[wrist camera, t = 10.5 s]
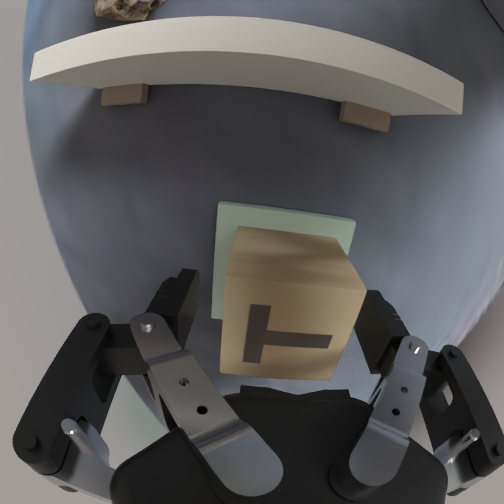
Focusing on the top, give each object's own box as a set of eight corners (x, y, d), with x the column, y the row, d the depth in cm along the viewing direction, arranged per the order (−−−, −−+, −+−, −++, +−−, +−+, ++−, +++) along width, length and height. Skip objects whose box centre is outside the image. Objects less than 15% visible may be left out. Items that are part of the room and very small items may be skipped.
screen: (393, 78, 10) (463, 59, 5) (387, 133, 12) (458, 142, 6) (111, 53, 10) (40, 30, 5) (103, 106, 12) (26, 105, 6)
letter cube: (335, 237, 14) (367, 291, 9) (314, 316, 16) (329, 381, 11) (238, 225, 14) (225, 276, 9) (230, 308, 16) (219, 374, 11)
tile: (352, 219, 14) (356, 222, 13) (322, 323, 17) (324, 329, 16) (220, 200, 14) (218, 203, 13) (212, 312, 17) (211, 318, 16)
